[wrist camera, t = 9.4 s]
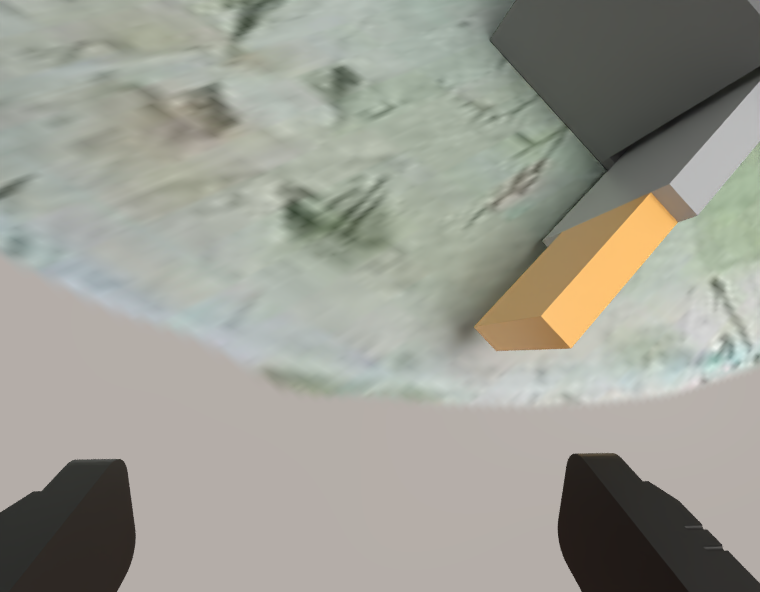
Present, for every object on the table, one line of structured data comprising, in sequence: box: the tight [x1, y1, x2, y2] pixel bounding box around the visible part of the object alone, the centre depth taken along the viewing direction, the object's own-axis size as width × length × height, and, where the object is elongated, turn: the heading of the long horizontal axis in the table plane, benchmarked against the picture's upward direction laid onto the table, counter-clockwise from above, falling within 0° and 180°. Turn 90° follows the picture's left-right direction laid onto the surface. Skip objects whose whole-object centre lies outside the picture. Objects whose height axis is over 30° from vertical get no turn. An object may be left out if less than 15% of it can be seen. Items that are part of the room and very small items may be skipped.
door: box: [474, 66, 760, 351], centre depth 22 cm, size 2×17×9 cm, turn 135°
